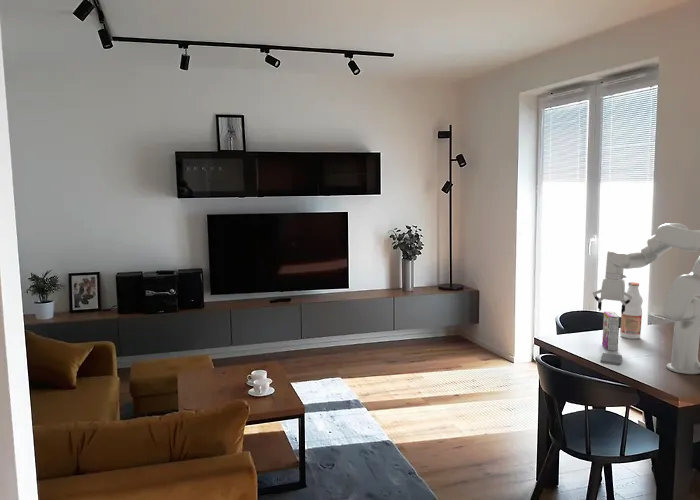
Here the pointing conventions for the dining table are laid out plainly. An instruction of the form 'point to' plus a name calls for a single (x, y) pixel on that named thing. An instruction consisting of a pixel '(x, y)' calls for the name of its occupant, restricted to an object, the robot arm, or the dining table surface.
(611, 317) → the candy bar box
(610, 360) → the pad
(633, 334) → the fruit juice
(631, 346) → the dining table surface
